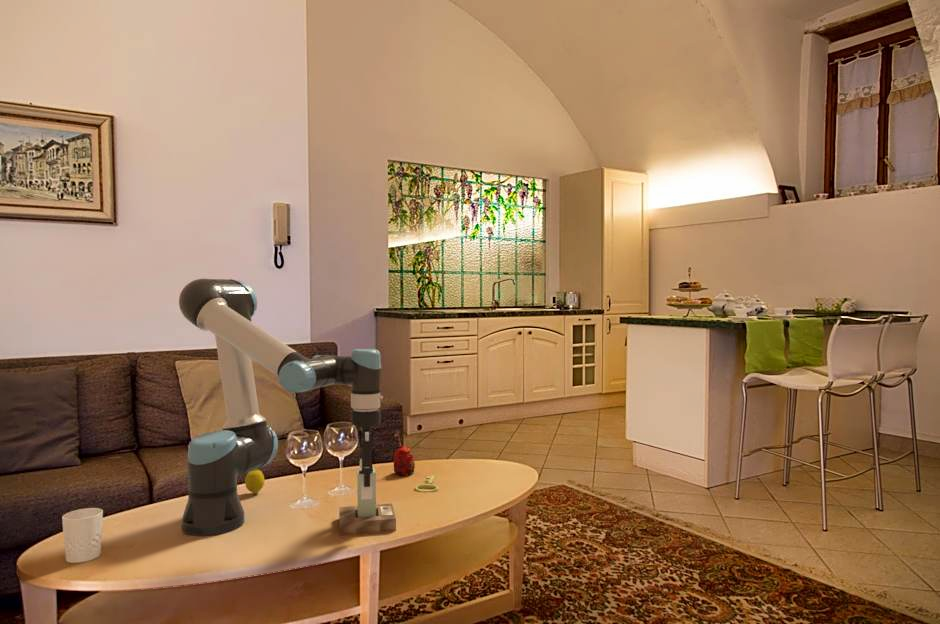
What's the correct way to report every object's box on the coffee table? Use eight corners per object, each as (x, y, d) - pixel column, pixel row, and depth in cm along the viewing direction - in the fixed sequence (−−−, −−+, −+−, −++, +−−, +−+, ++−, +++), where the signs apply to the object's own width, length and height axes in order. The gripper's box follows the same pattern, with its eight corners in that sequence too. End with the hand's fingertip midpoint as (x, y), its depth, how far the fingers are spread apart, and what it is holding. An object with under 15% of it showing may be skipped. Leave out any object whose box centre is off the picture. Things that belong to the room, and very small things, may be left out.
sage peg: (358, 528, 158) (357, 473, 158) (357, 521, 163) (357, 468, 162) (376, 526, 159) (375, 472, 159) (375, 520, 164) (374, 467, 163)
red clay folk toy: (410, 477, 203) (409, 432, 203) (389, 476, 205) (389, 431, 205) (417, 471, 211) (416, 427, 210) (397, 470, 212) (397, 426, 212)
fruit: (248, 491, 189) (248, 465, 189) (266, 490, 190) (266, 464, 189) (242, 496, 184) (242, 470, 184) (261, 496, 184) (261, 469, 184)
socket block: (339, 535, 154) (339, 521, 154) (339, 518, 165) (339, 505, 165) (396, 530, 156) (395, 517, 156) (392, 514, 168) (392, 502, 168)
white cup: (54, 561, 139) (54, 516, 139) (88, 548, 146) (88, 506, 146) (78, 566, 136) (77, 521, 136) (111, 553, 143) (110, 510, 143)
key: (434, 481, 200) (434, 474, 200) (439, 493, 188) (439, 486, 188) (412, 482, 199) (412, 476, 199) (415, 494, 187) (415, 487, 187)
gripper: (383, 417, 149) (383, 505, 149) (377, 400, 173) (377, 475, 174) (352, 418, 147) (351, 507, 148) (350, 401, 172) (350, 477, 172)
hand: (365, 490), depth 161 cm, fingers open, 13 cm apart
